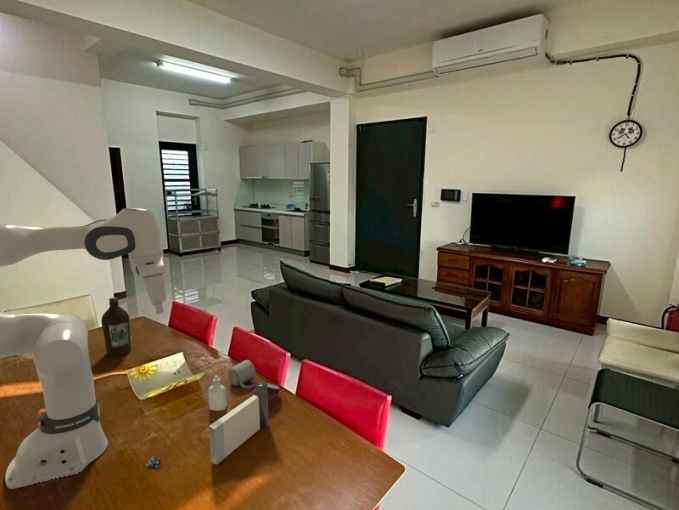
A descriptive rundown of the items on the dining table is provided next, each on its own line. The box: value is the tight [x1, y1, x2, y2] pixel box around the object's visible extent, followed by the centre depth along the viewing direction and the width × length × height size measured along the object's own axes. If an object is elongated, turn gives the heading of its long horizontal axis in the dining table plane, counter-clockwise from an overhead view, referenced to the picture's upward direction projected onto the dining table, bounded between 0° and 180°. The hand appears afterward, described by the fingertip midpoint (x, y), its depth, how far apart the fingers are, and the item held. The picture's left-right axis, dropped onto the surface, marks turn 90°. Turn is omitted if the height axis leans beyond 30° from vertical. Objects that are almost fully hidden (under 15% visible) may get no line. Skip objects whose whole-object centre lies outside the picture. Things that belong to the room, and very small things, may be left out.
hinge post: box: [254, 381, 269, 430], centre depth 115 cm, size 4×4×14 cm
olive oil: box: [100, 297, 132, 357], centre depth 163 cm, size 11×11×25 cm
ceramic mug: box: [227, 359, 257, 390], centre depth 140 cm, size 11×8×8 cm
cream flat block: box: [208, 395, 261, 465], centre depth 106 cm, size 17×2×11 cm, turn 150°
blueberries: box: [145, 455, 162, 470], centre depth 100 cm, size 7×8×2 cm
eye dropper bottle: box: [207, 375, 228, 412], centre depth 124 cm, size 4×6×12 cm
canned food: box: [250, 379, 280, 407], centre depth 131 cm, size 11×10×10 cm
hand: (157, 308), depth 109 cm, fingers open, 8 cm apart
